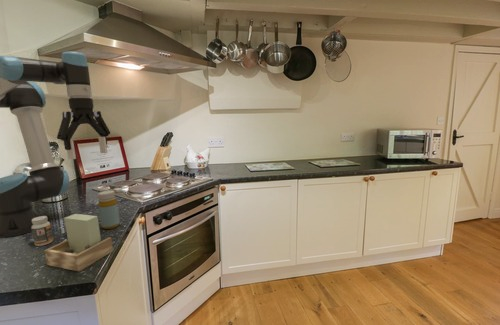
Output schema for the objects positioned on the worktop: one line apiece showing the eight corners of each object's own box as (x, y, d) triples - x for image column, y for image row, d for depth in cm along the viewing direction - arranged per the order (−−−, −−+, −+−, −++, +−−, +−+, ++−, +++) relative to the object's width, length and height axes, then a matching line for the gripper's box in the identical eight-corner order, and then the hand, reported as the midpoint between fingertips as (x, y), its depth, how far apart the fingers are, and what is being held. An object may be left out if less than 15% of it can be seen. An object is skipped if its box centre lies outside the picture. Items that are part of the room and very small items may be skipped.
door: (67, 252, 92) (61, 218, 90) (80, 246, 96) (75, 213, 94) (90, 256, 89) (84, 221, 87) (102, 249, 93) (97, 216, 91)
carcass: (47, 264, 88) (44, 250, 87) (83, 246, 100) (81, 233, 99) (79, 271, 83) (76, 256, 82) (113, 250, 95) (111, 237, 94)
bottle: (122, 222, 120) (118, 189, 118) (115, 229, 114) (110, 194, 111) (106, 223, 120) (102, 190, 118) (98, 230, 113) (93, 195, 111)
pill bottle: (53, 243, 103) (48, 218, 101) (34, 248, 100) (29, 222, 98) (53, 238, 107) (49, 214, 106) (35, 242, 104) (30, 217, 102)
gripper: (53, 95, 86) (64, 162, 90) (115, 98, 109) (122, 151, 113) (37, 97, 89) (48, 161, 92) (101, 99, 112) (108, 151, 116)
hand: (89, 155), depth 103 cm, fingers open, 13 cm apart
